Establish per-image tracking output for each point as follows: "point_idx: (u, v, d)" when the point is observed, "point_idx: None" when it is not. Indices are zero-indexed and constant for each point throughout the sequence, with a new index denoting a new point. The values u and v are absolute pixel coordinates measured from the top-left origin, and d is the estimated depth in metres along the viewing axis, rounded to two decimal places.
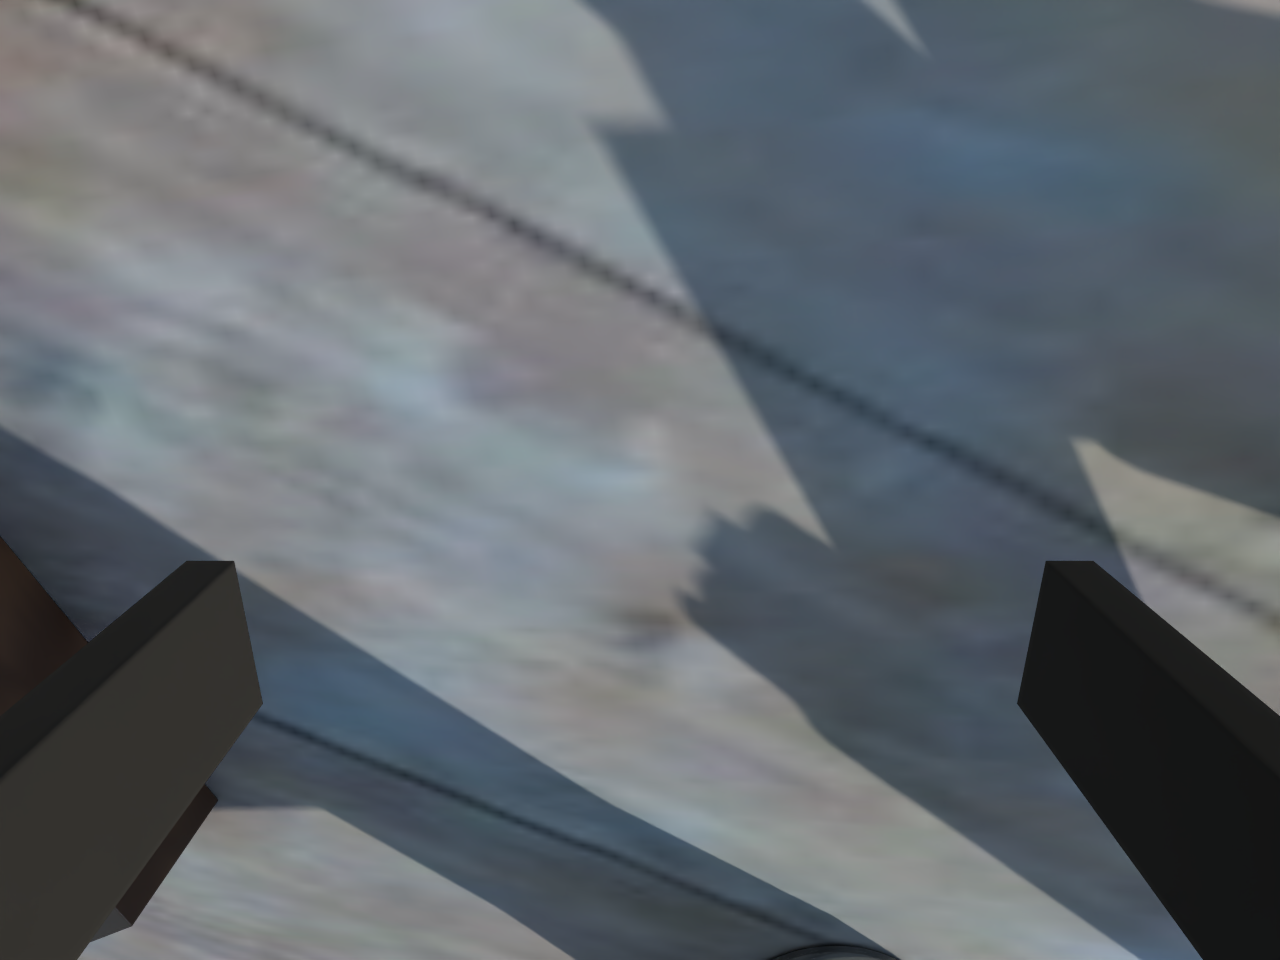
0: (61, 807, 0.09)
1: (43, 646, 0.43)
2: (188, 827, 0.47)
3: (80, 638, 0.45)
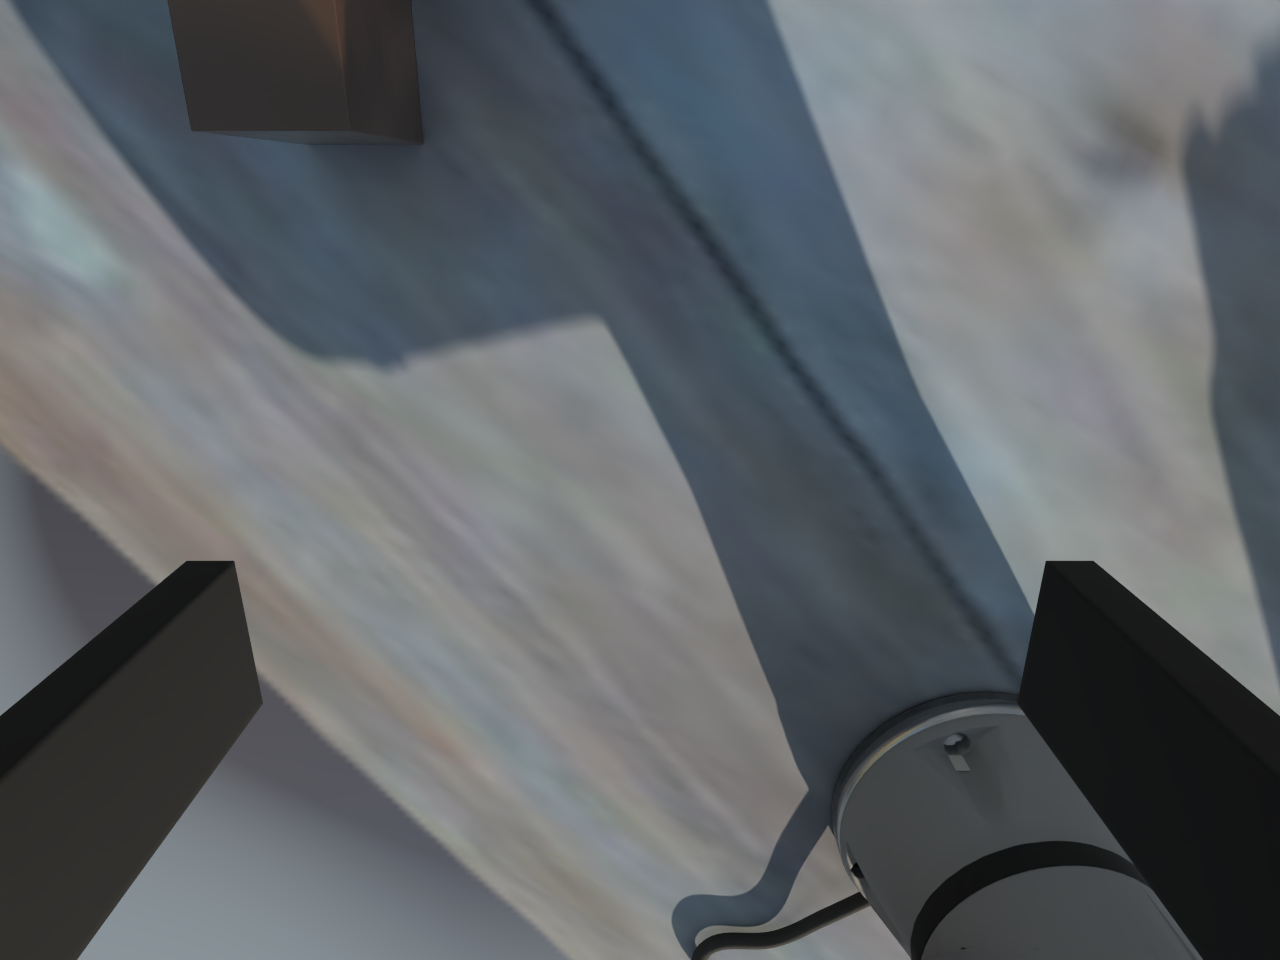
0: (61, 807, 0.09)
1: None
2: (403, 122, 0.30)
3: None
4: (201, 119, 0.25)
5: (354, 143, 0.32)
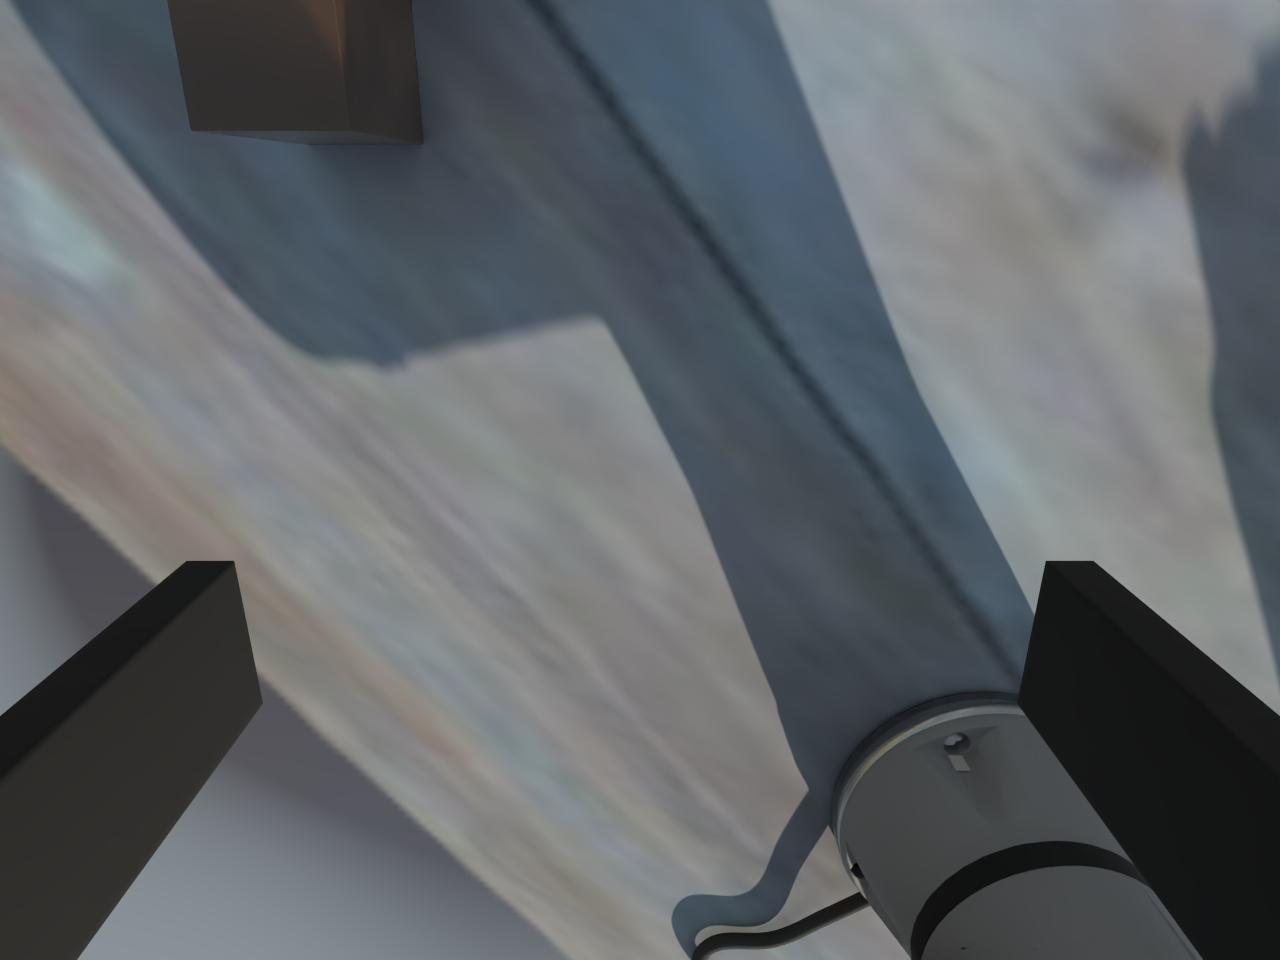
0: (60, 807, 0.09)
1: None
2: (403, 122, 0.30)
3: None
4: (201, 119, 0.25)
5: (354, 143, 0.32)
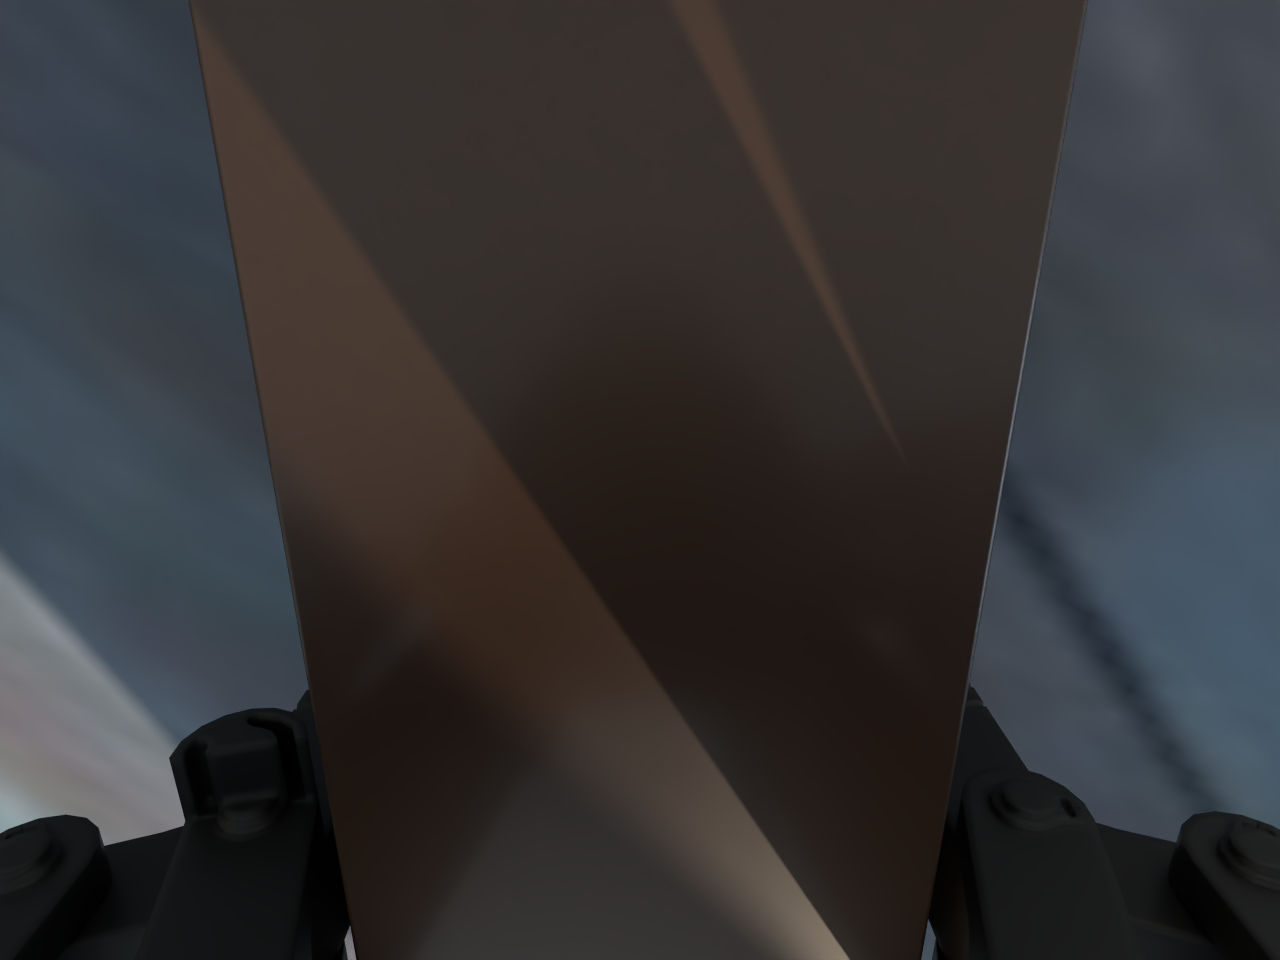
0: None
1: None
2: None
3: None
4: None
5: None
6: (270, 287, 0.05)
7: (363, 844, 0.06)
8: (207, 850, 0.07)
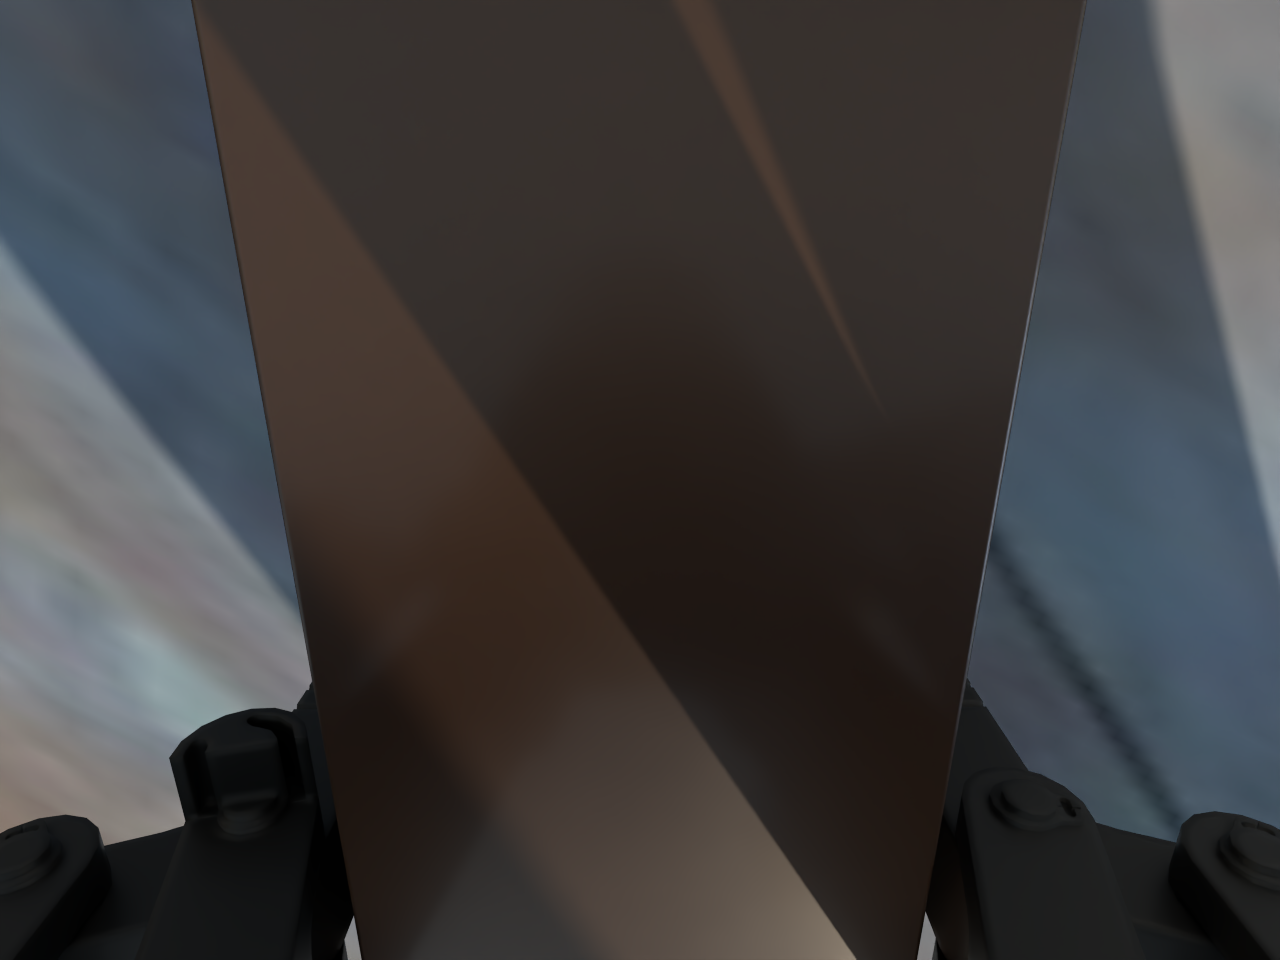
0: None
1: None
2: None
3: None
4: None
5: None
6: (273, 287, 0.05)
7: (367, 838, 0.07)
8: (207, 850, 0.07)
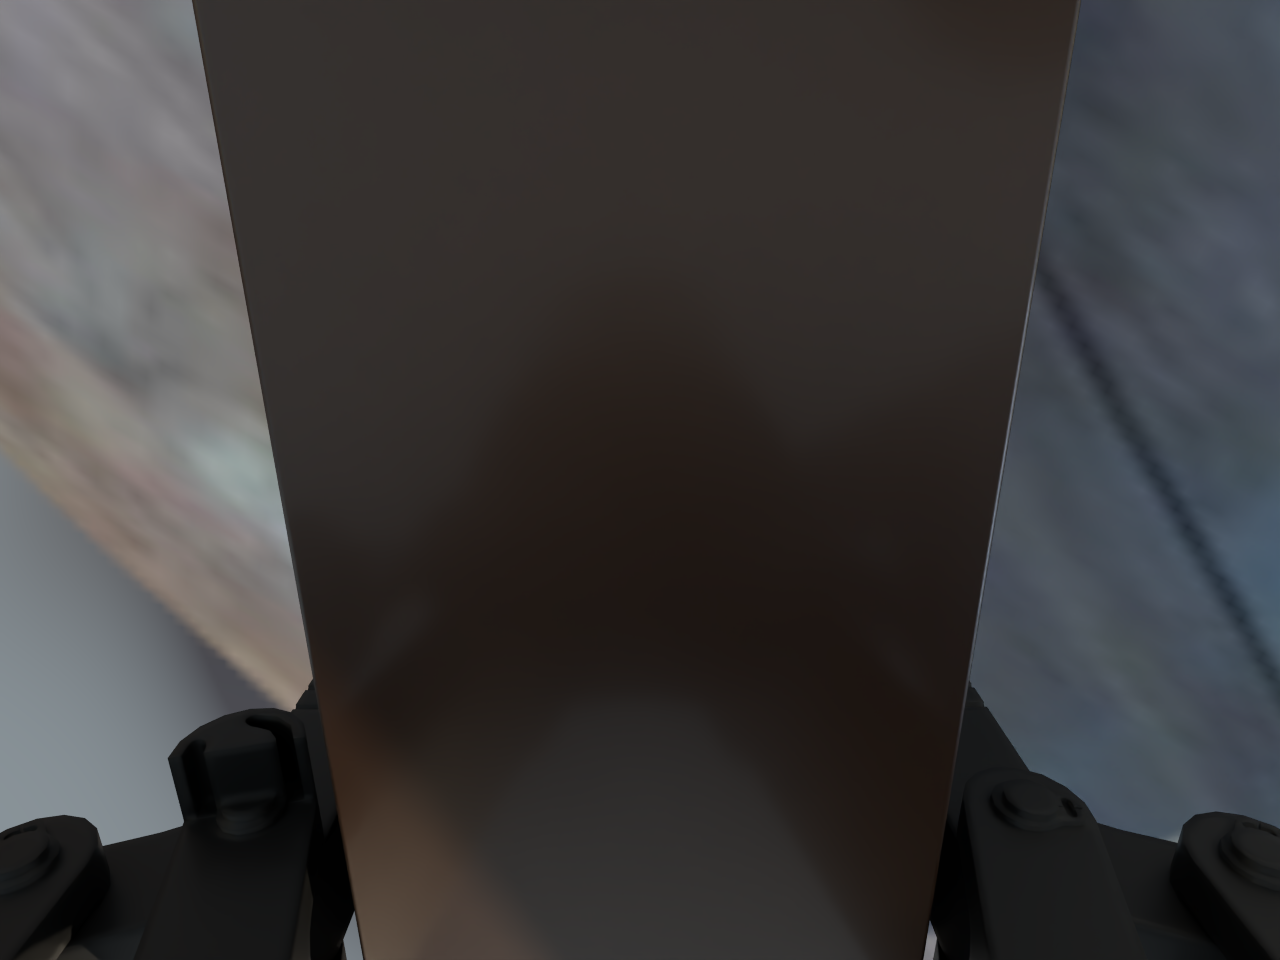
0: None
1: None
2: None
3: None
4: None
5: None
6: (274, 283, 0.05)
7: (369, 840, 0.06)
8: (205, 850, 0.07)
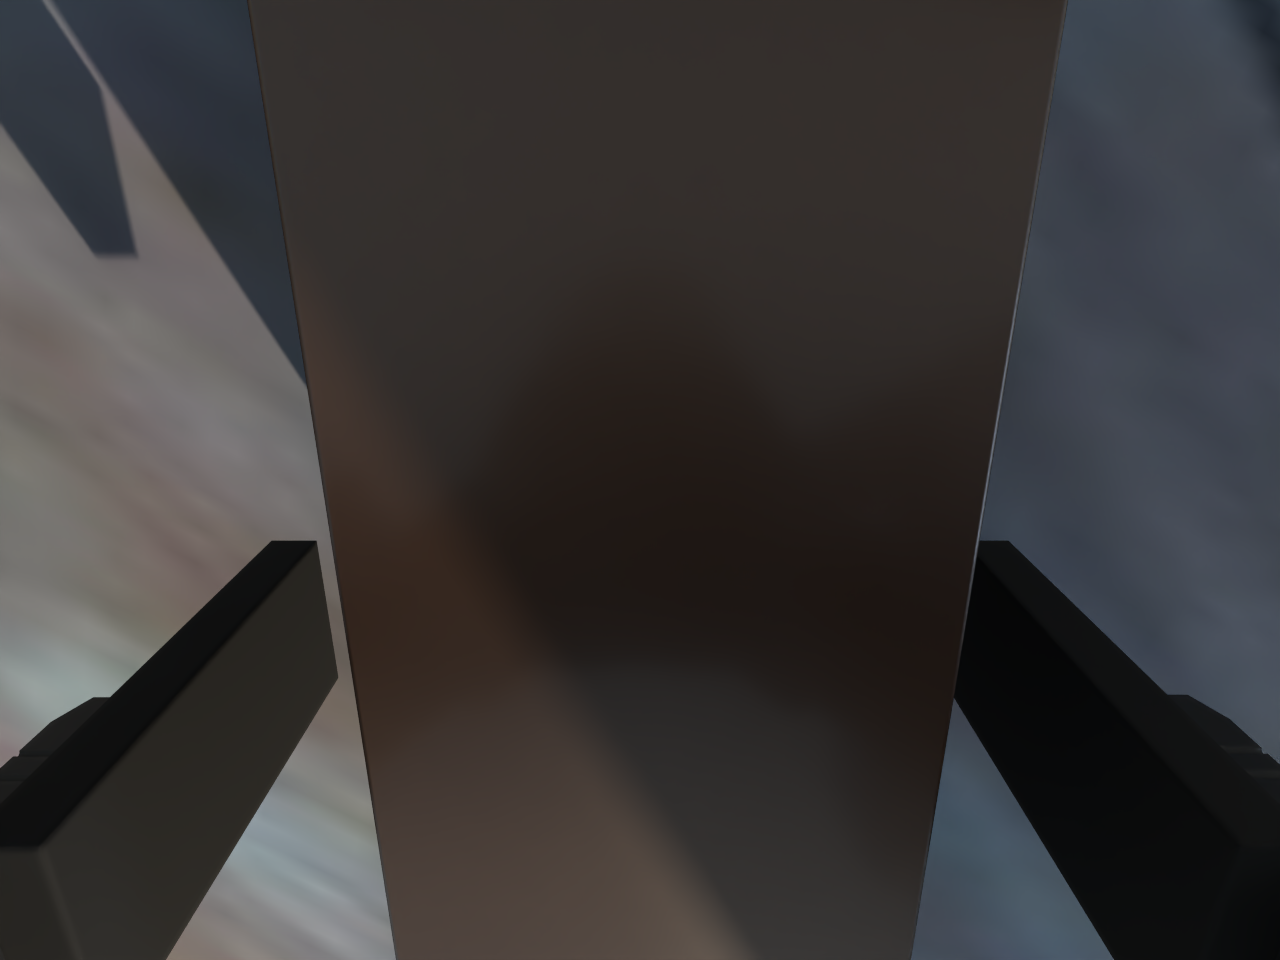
0: (189, 760, 0.09)
1: None
2: None
3: None
4: None
5: None
6: (318, 274, 0.05)
7: (396, 799, 0.07)
8: None
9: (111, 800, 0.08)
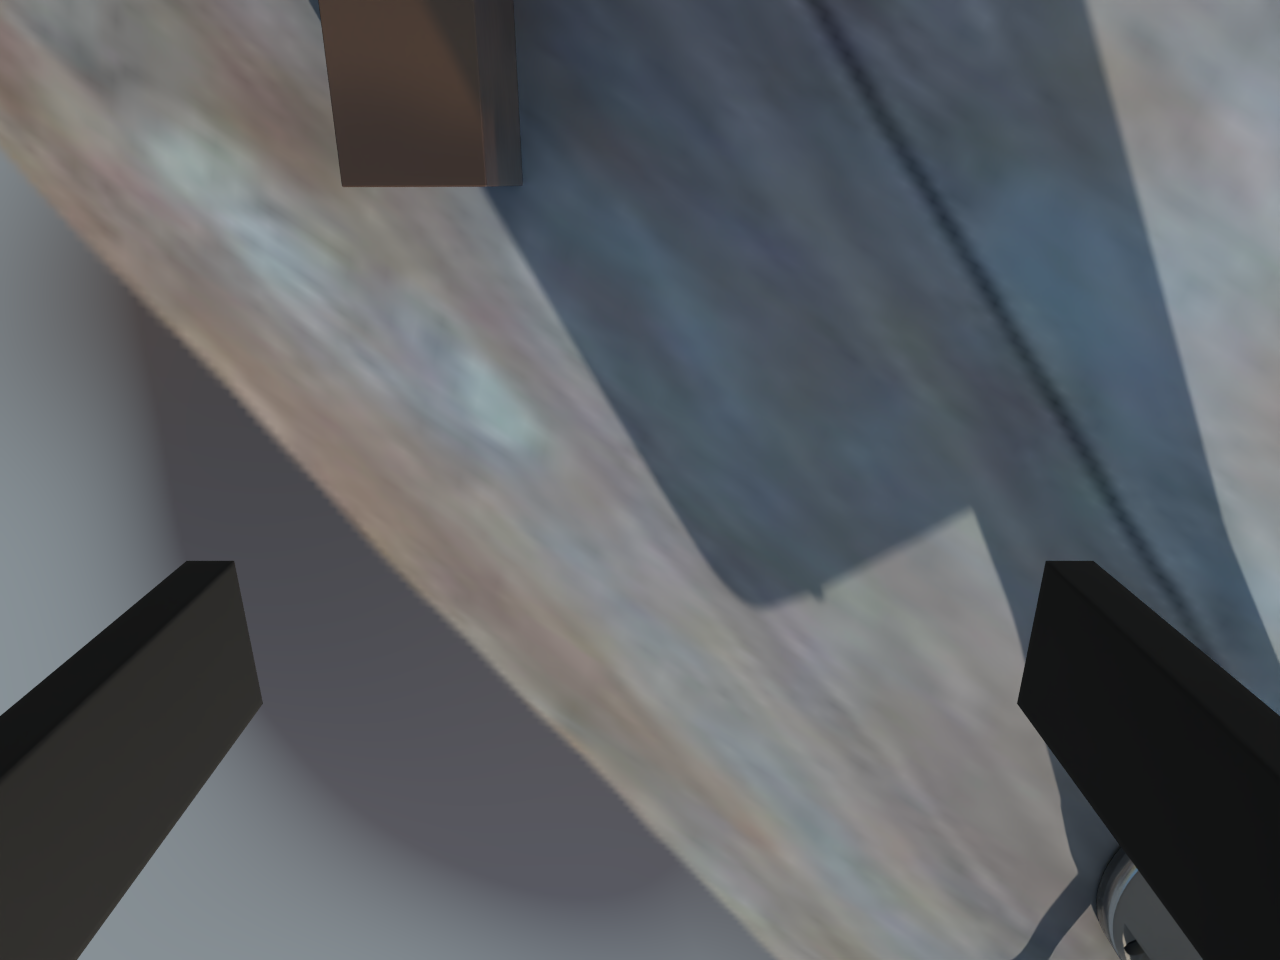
0: (61, 807, 0.09)
1: None
2: (512, 169, 0.33)
3: None
4: (352, 177, 0.27)
5: None
6: None
7: None
8: None
9: None
